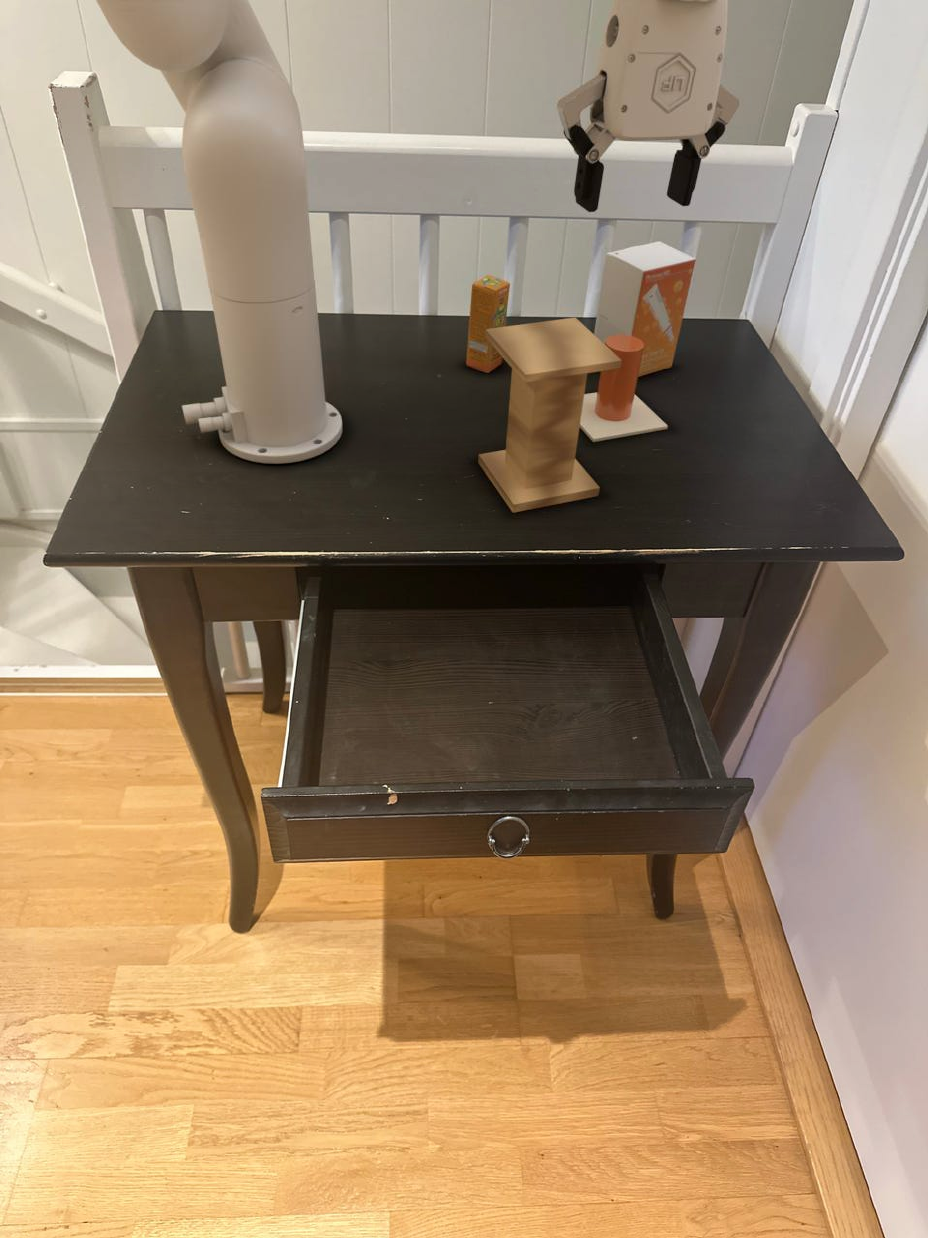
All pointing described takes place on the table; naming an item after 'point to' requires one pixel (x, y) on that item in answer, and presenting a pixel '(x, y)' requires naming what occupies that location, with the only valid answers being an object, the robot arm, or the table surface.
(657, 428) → the cream coaster
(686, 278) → the small box
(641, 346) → the orange cylinder
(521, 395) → the birch stand
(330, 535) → the table surface
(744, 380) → the table surface
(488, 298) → the supplement box
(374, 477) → the table surface
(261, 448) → the robot arm
